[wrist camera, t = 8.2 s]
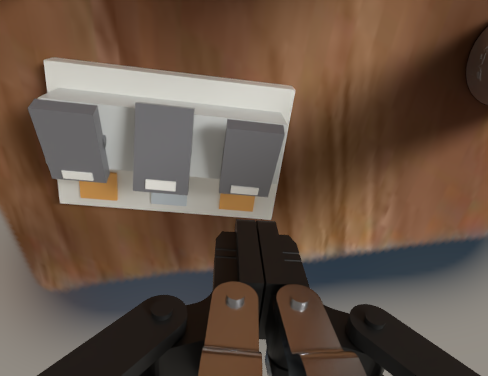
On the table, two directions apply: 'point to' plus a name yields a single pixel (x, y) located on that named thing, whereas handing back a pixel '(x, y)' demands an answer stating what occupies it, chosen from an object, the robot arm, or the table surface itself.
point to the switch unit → (203, 142)
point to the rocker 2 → (250, 157)
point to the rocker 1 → (71, 140)
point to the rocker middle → (162, 148)
